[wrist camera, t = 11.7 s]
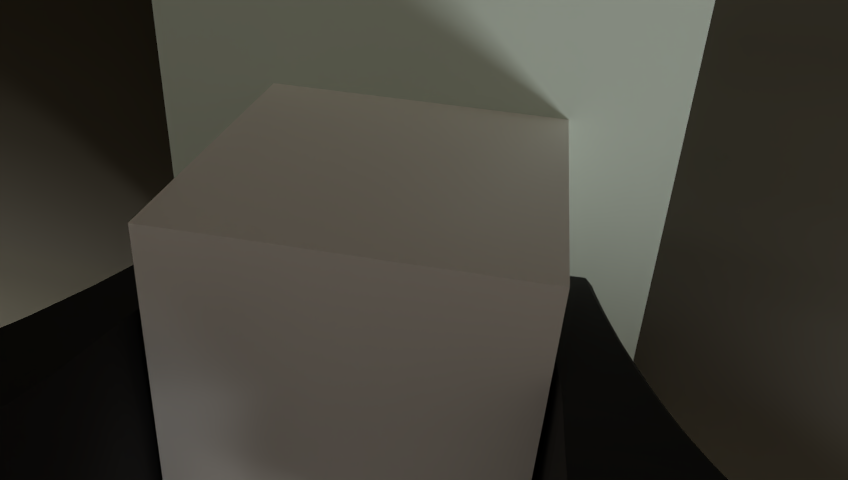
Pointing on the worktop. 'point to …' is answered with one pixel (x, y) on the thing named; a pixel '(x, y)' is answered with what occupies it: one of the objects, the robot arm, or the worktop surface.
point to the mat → (474, 93)
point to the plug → (357, 291)
